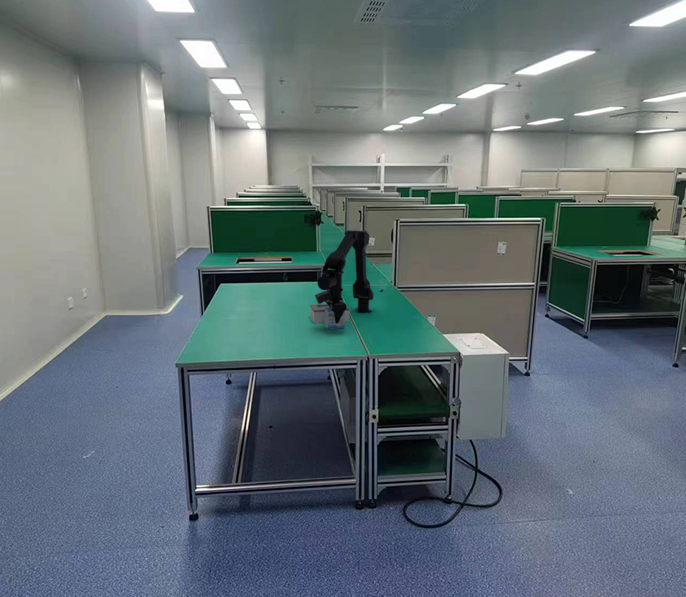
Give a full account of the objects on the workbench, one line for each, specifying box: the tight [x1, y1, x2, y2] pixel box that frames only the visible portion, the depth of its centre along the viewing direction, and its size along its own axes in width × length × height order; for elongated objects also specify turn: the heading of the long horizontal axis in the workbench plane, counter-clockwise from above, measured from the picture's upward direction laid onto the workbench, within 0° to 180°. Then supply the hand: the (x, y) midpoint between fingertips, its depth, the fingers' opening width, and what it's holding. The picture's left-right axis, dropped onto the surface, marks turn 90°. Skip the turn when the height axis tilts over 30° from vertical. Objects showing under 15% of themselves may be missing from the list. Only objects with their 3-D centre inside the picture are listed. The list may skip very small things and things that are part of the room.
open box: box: [309, 303, 350, 324], centre depth 219 cm, size 10×16×6 cm, turn 103°
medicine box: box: [324, 308, 346, 330], centre depth 208 cm, size 8×4×9 cm, turn 105°
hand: (334, 320), depth 208 cm, fingers open, 8 cm apart
